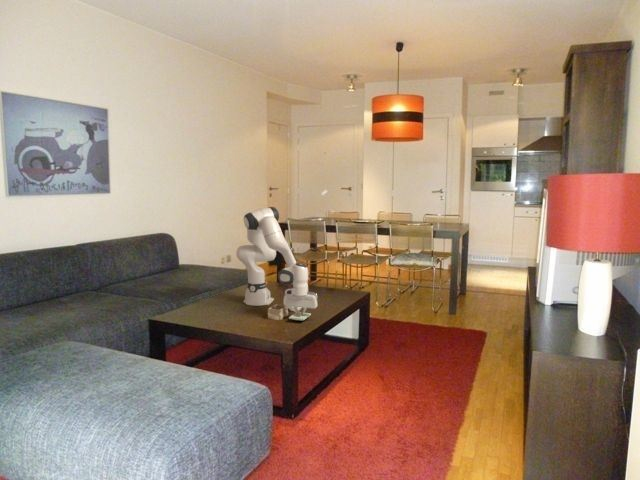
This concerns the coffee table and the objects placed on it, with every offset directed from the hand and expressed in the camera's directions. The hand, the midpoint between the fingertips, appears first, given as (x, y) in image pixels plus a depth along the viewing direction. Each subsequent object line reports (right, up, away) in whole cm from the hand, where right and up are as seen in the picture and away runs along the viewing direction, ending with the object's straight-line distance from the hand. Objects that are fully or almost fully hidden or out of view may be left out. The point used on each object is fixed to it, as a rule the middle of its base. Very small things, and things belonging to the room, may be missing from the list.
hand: (300, 314), depth 289 cm
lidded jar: (-4, -1, +23) cm, 23 cm away
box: (-14, -3, +7) cm, 15 cm away
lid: (0, -1, 0) cm, 1 cm away
